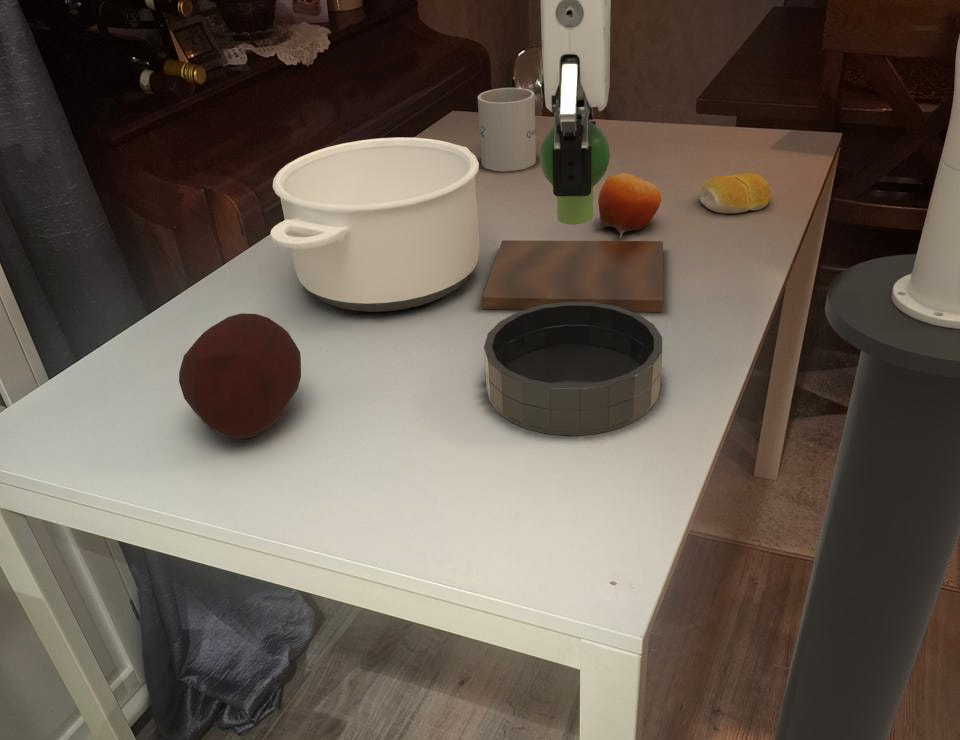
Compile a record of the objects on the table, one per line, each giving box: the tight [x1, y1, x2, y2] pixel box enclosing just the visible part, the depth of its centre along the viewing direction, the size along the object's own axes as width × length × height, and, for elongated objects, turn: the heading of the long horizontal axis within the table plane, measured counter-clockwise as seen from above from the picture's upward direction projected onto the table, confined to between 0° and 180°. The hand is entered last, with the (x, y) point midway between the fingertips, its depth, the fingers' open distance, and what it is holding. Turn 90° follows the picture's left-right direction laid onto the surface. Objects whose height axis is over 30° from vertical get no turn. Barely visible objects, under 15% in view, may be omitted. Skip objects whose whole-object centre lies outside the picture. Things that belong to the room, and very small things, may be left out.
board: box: [481, 239, 664, 313], centre depth 105 cm, size 20×16×2 cm
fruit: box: [597, 172, 662, 239], centre depth 115 cm, size 8×8×8 cm
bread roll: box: [699, 172, 772, 214], centre depth 120 cm, size 8×9×4 cm
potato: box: [178, 312, 302, 440], centre depth 83 cm, size 11×13×10 cm
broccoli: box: [539, 119, 611, 226], centre depth 78 cm, size 6×6×8 cm
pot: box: [269, 137, 480, 313], centre depth 105 cm, size 33×23×14 cm
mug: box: [477, 87, 537, 172], centre depth 139 cm, size 12×9×10 cm
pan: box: [483, 302, 663, 437], centre depth 85 cm, size 17×17×5 cm
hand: (574, 179), depth 78 cm, fingers closed on broccoli, 5 cm apart
